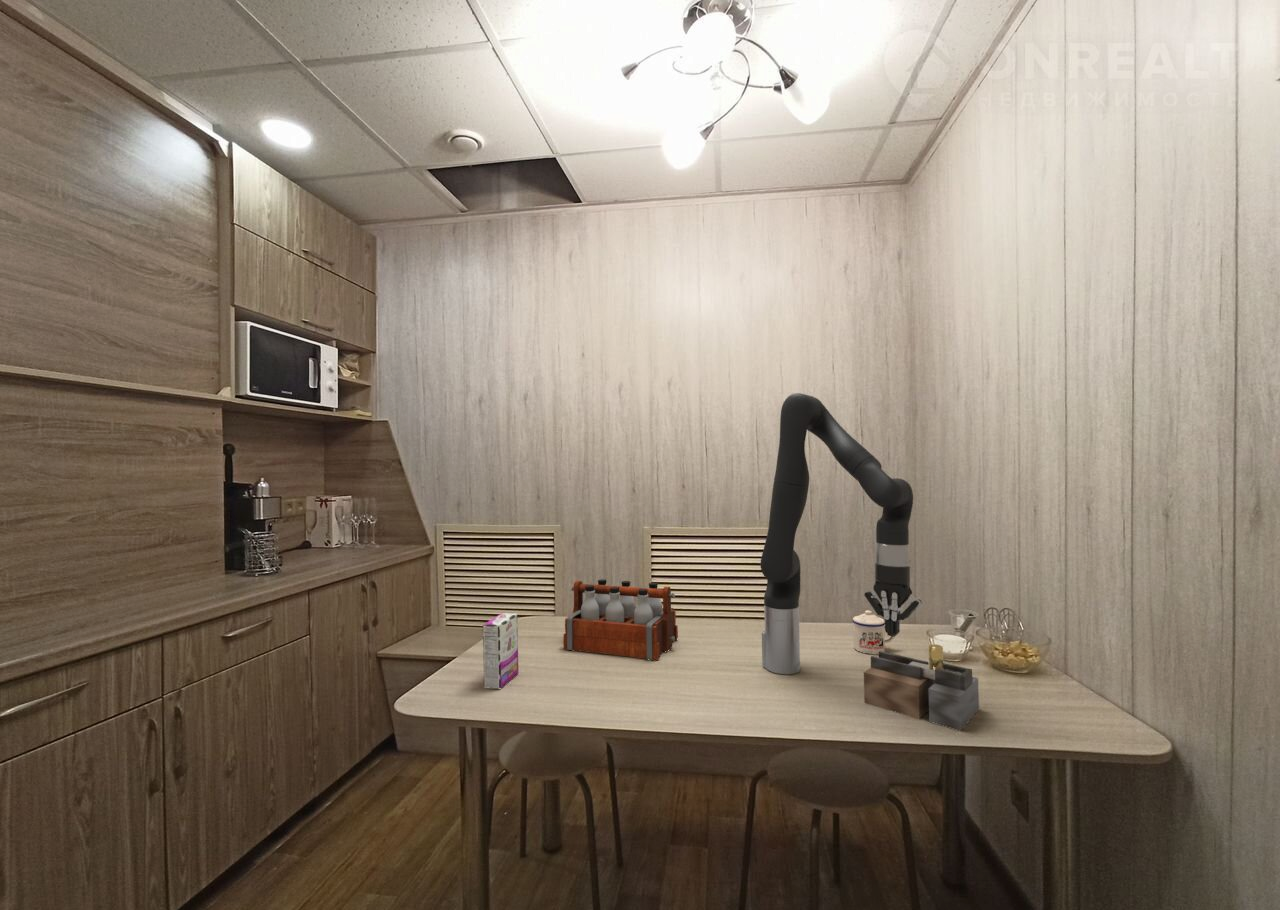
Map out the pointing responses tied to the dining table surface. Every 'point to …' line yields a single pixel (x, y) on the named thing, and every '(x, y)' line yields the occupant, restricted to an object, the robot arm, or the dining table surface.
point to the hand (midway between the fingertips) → (892, 635)
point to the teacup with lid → (869, 633)
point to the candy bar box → (500, 650)
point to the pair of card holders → (921, 690)
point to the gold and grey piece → (933, 662)
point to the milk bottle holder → (621, 620)
